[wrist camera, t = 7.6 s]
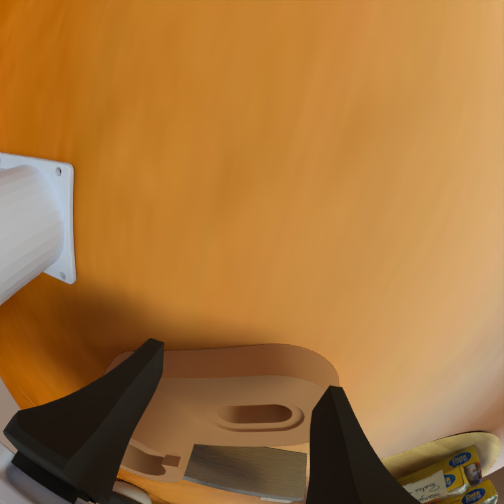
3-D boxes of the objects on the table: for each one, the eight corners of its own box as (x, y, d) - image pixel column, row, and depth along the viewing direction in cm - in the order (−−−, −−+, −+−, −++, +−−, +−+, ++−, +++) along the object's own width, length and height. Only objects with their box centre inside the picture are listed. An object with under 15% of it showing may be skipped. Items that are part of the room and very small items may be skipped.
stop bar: (134, 425, 24) (116, 462, 20) (130, 406, 23) (109, 446, 18) (292, 468, 24) (288, 508, 19) (307, 453, 22) (304, 498, 18)
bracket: (141, 412, 23) (114, 469, 17) (96, 349, 20) (52, 409, 14) (341, 411, 19) (345, 490, 13) (333, 332, 16) (343, 434, 10)
